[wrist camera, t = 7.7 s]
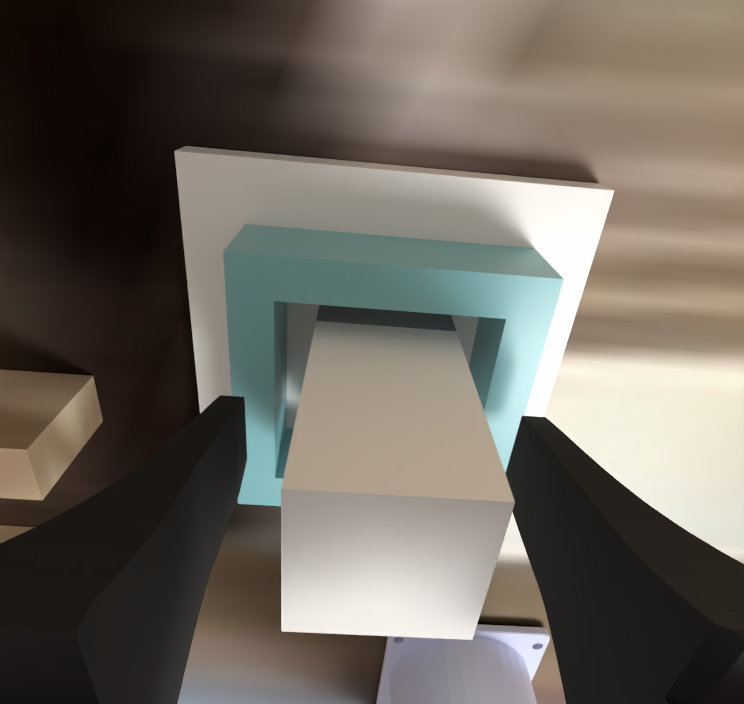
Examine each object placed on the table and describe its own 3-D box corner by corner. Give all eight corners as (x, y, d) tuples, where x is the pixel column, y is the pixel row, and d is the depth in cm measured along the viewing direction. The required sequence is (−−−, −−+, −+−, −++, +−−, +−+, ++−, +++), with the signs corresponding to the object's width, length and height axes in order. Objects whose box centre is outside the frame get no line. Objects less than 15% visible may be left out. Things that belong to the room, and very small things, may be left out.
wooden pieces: (133, 562, 23) (91, 651, 19) (-4, 555, 22) (-72, 644, 19) (93, 375, 18) (26, 449, 14) (-83, 363, 18) (-194, 436, 14)
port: (509, 485, 21) (534, 557, 18) (214, 467, 20) (186, 539, 17) (599, 183, 15) (660, 212, 12) (186, 145, 14) (136, 166, 11)
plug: (430, 413, 18) (472, 639, 11) (316, 406, 17) (281, 631, 10) (449, 309, 16) (515, 502, 9) (320, 299, 15) (281, 488, 8)
